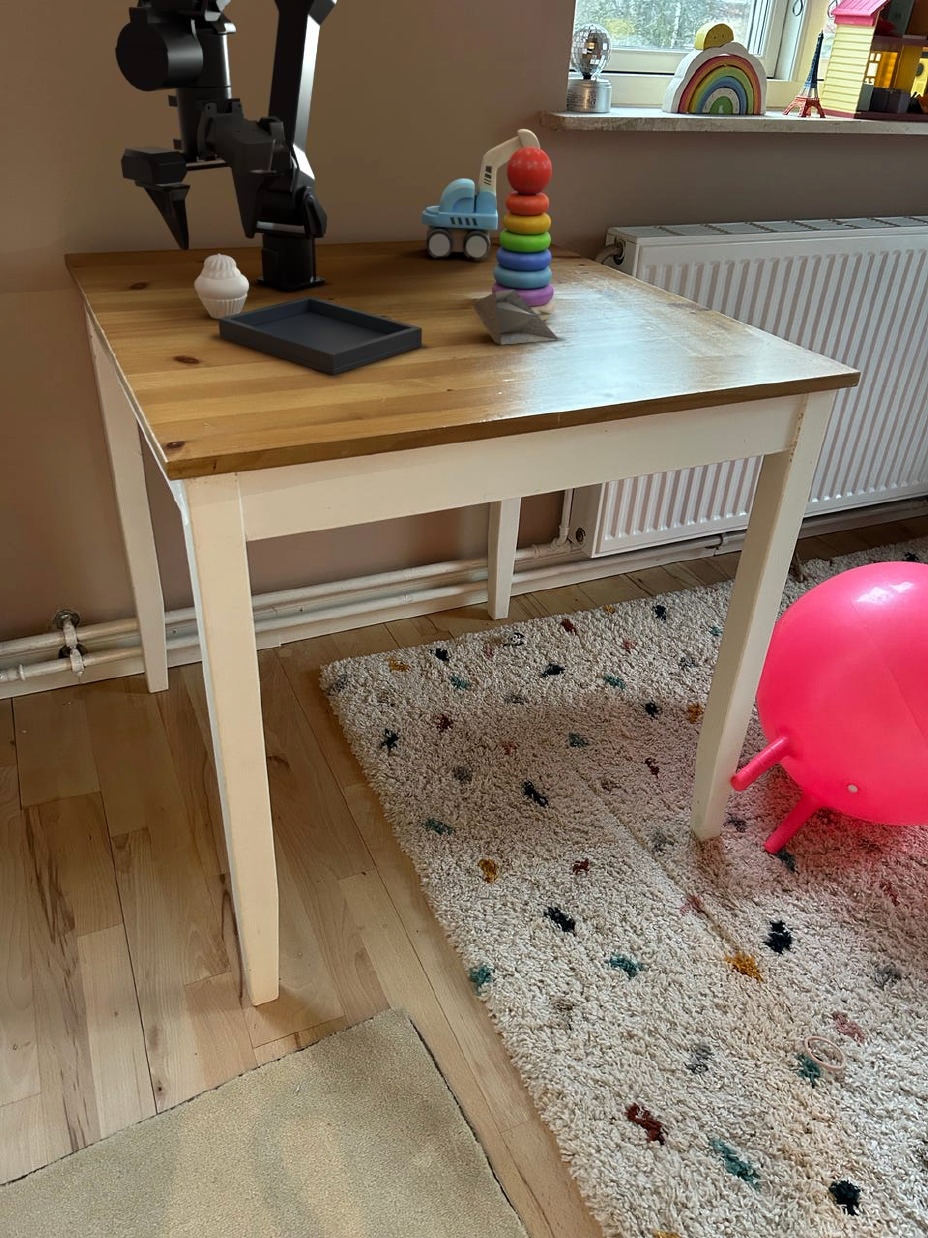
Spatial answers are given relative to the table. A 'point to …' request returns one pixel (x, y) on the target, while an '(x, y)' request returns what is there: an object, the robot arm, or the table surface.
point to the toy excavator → (471, 206)
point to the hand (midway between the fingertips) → (218, 243)
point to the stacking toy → (527, 232)
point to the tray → (320, 334)
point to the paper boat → (512, 319)
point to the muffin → (221, 286)
